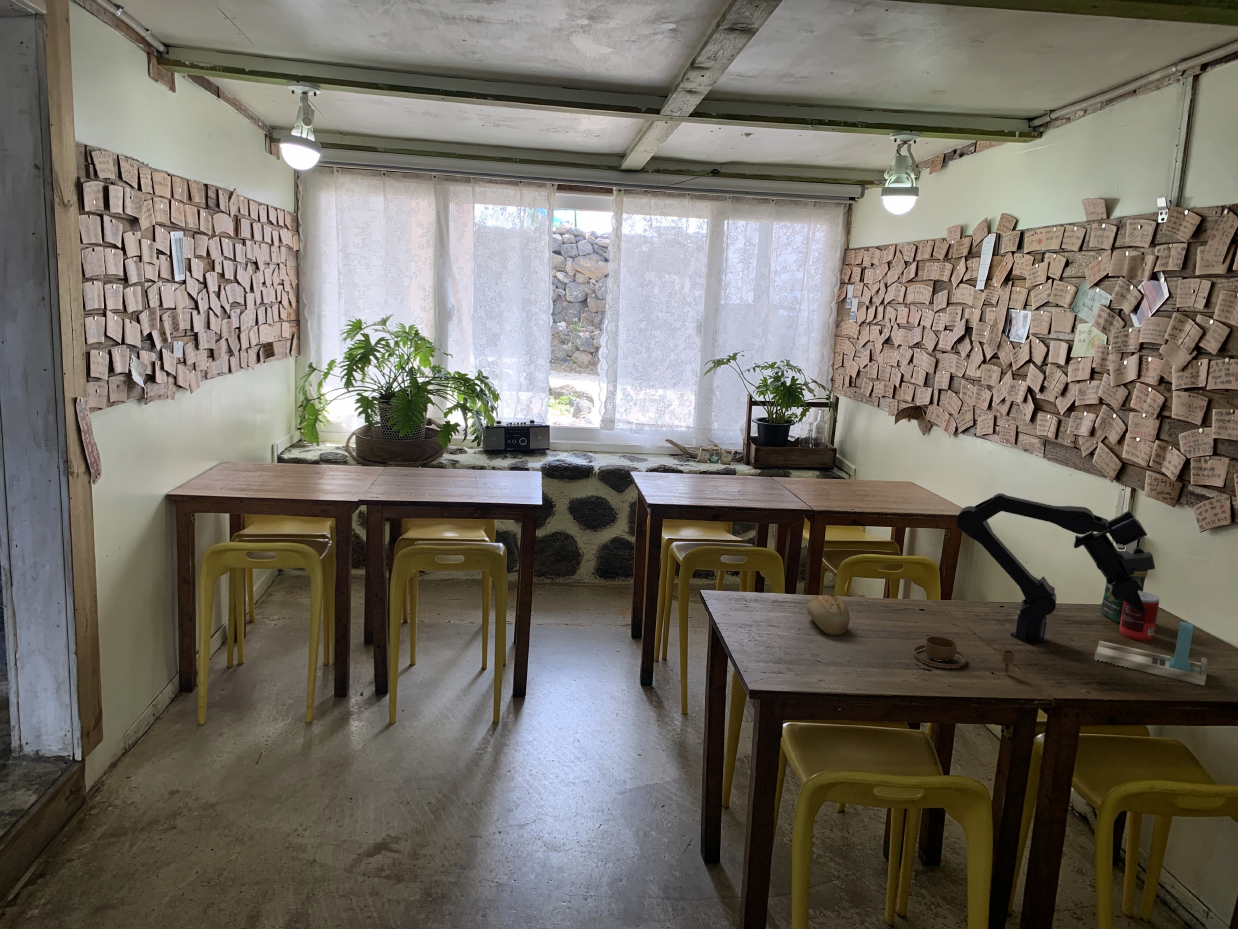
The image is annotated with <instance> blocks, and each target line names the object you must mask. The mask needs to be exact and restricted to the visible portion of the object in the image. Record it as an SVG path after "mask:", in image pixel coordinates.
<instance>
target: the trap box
mask: <svg viewBox="0 0 1238 929" xmlns="http://www.w3.org/2000/svg"><path fill="white" fill-rule="evenodd" d="M1170 657H1171V655H1170V656H1169V655H1166V654H1161V653H1156V652H1152V651H1147V650H1143V649H1138V648H1134V647H1129V646H1125V645H1120V644H1116V643H1111V642H1108V641H1106V642H1105V641H1102V640H1098V646H1097V648H1096V650H1095V652H1094V658H1093V660H1094V659H1095V660H1094V661H1097V660H1099V661H1098V662H1101V661H1103V662H1102V663H1105V662H1108V663H1107V664H1110V663H1112V664H1111V665H1114V664H1115V666H1118V665H1119V667H1122V666H1124V667H1123V668H1127V667H1128V668H1127V669H1132V670H1136V671H1140V672H1144V673H1149V674H1153V675H1158V676H1161V677H1165V678H1170V679H1174V680H1179V681H1183V682H1188V683H1192V684H1195V685H1200V686H1205V685H1206V679H1207V675H1208V673H1207V672H1208V658H1207V657H1203V656H1201V661H1200V662H1199V661H1197V662H1196V661H1192V660H1190V661H1191V665H1190V672H1187V671H1183V670H1178V669H1174V668H1169V664H1170Z"/></svg>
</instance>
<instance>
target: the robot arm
mask: <svg viewBox="0 0 1238 929" xmlns="http://www.w3.org/2000/svg"><path fill="white" fill-rule="evenodd" d="M1001 512H1004V513H1008V514H1013V515H1018V516H1022V517H1026V518H1031V519H1034V520H1038V521H1044V522H1047V523H1048V522H1049V523H1051V524H1054V525H1056V526H1057V527H1060V528H1062V529H1064V530H1067V531H1069V532H1072V533H1074V534H1076V535H1075V537H1074V538H1075V540H1074V543H1073V548H1074V549H1078V548H1080V547H1082V546H1083V547H1084V549H1085V550H1086V551H1087V553H1088V554H1089V556H1090V558H1091V559H1092V561H1093V562H1094V564H1095V566H1096V568H1097V569H1098V571H1100V572H1101V573H1102V575H1103V576H1104V578H1105V580H1106V583H1107V582H1108V584H1111V588H1110V592H1111V594H1112V595H1113V597H1114V598H1115V600H1118V599H1122V600H1124V601H1125V602H1127V603H1128V604H1130V605H1131V606H1133V607H1134V608H1136V609H1137V610H1139V611H1140V612H1144V611H1146V609H1145V607H1144V605H1143V602H1142V600H1141V598H1140V595H1139V593H1138V590H1140V589H1142V586H1141V584H1140V582H1139V579H1138V577H1133V576H1130V575H1132V574H1134V573H1136V572H1135V571H1137V570H1146V569H1148V571H1151V570H1152V571H1153V570H1155V569H1156V565H1155V561H1154V556H1153V554H1152V552H1150V551H1145V550H1144V549H1142V547H1135V548H1133V551H1132V553H1131V554H1129V555H1126V556H1123V554H1122V553H1121V552H1119V551H1120V550H1118V549H1117V548H1116V546H1115V545H1119V546H1121V545H1122V546H1123V547H1125V546H1127V545H1129V544H1131V543H1134V542H1135V541H1139V540H1140V539H1143V538H1144V537H1146V536H1148V533H1147V531H1146V530H1145V528H1144V526H1143V524H1142V523H1141V522H1140V521H1139V520H1138V519H1137V518H1136V517H1135V515H1134V514H1133V513H1132V511H1131V510H1127V511H1125V512H1122V513H1121V515H1118V516H1117V517H1115V518H1113V519H1110V520H1109V519H1106V518H1105V517H1102V516H1099V515H1096V514H1094V513H1093V511H1092V510H1091V509H1090V508H1088V507H1086V506H1074V505H1061V506H1060V505H1053V504H1052V505H1051V504H1048V503H1043V502H1038V501H1034V500H1030V499H1029V500H1028V499H1025V498H1020V497H1015V496H1010V495H1007V494H1004V493H1003V492H1001V493H996V494H995V495H993V496H992V497H990V498H988V499H986V500H984V501H981V502H980V503H978V504H976V505H975V506H972V505H968V506H965V507H963V508H962V509H961V510H960V511H959V513H958V515H957V517H956V526H957V527H958V529H959V530H960V531H962V532H963V533H964V534H965V535H967V536H968V537H969V538H970V539H972V540H974V541H975V542H977V543H979V544H980V545H981V546H982V547H983V549H985V550H986V551H987V553H989V555H990V556H991V557H992V558H993V559H994V561H995V562H997V564H999V566H1000V567H1001V568H1002V569H1003V570H1004V571H1005V573H1006V574H1007V575H1009V577H1010V579H1012V580H1013V581H1014V583H1015V584H1016V585H1017V586H1018V587H1019V589H1020V591H1021V592H1022V595H1023V596H1024V599H1022V600H1021V603H1020V607H1019V608H1020V609H1019V613H1017V619H1016V620H1017V621H1016V629H1015V631H1014V632H1010V636H1012V637H1014V638H1016V639H1018V640H1020V641H1023V642H1024V643H1027V644H1029V645H1033V644H1042V643H1048V642H1049V641H1050V640H1049V639H1048V638H1046V637H1045V636H1046V630H1047V616H1048V615H1051V614H1052V613H1053V612H1055V609H1056V607H1057V594H1056V592H1055V591H1056V587H1054V586H1052V585H1051V584H1050V583H1049V582H1048V580H1047V579H1046V578H1045V576H1042V577H1041V578H1040V579H1039V578H1037V577H1036V576H1034V575H1033V574H1032V573H1031V572H1030V571H1029V570H1028V569H1027V568H1026V567H1025V566H1024V565H1023V563H1022V562H1020V560H1019V559H1018V558H1017V557H1016V556H1015V555H1014V554H1013V552H1012V551H1011V550H1010V549H1009V548H1008V547H1007V546H1006V545H1005V544H1004V543H1003V542H1002V540H1000V538H999V537H998V536H997V535H996V534H995V532H994V531H993V530H992V527H991V526H990V523H989V522H988V520H989V519H991V518H993V517H994V516H996V515H997V514H999V513H1001ZM1107 534H1109V536H1110V537H1111V539H1112V540H1111V539H1110V537H1109V536H1108V535H1107ZM1081 535H1082V536H1081ZM1112 541H1114V543H1115V544H1114V543H1113V542H1112ZM1112 583H1114V584H1112Z"/></svg>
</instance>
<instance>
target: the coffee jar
mask: <svg viewBox="0 0 1238 929" xmlns="http://www.w3.org/2000/svg"><path fill="white" fill-rule="evenodd" d="M1118 551H1119V552H1121V553H1122V554H1123V556H1126V555H1129V554H1132V553H1131V552H1130V551H1128V550H1118ZM1135 572H1136V573H1134V574H1132V575H1130V576H1133V577H1138V579H1139V582H1140V584H1141V586H1142V589H1140V590H1138V591H1142V592H1144V587H1145V580H1146V578H1147V576H1148V572H1149V570H1148V569H1146V570H1137V571H1135ZM1112 584H1114V583H1112ZM1110 588H1111V584H1108V582H1107V581H1106V584H1105V588H1104V593H1103V598H1102V602H1101V608H1100V612H1101V614H1102V615H1103V616H1105V617H1106V618H1108V619H1110V620H1112V621H1114V622H1116V623H1120V622H1121V616H1122V609H1123V603H1124V600H1122V599H1118V600H1115V598H1114V597H1113V595H1112V594H1111V592H1110Z"/></svg>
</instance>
